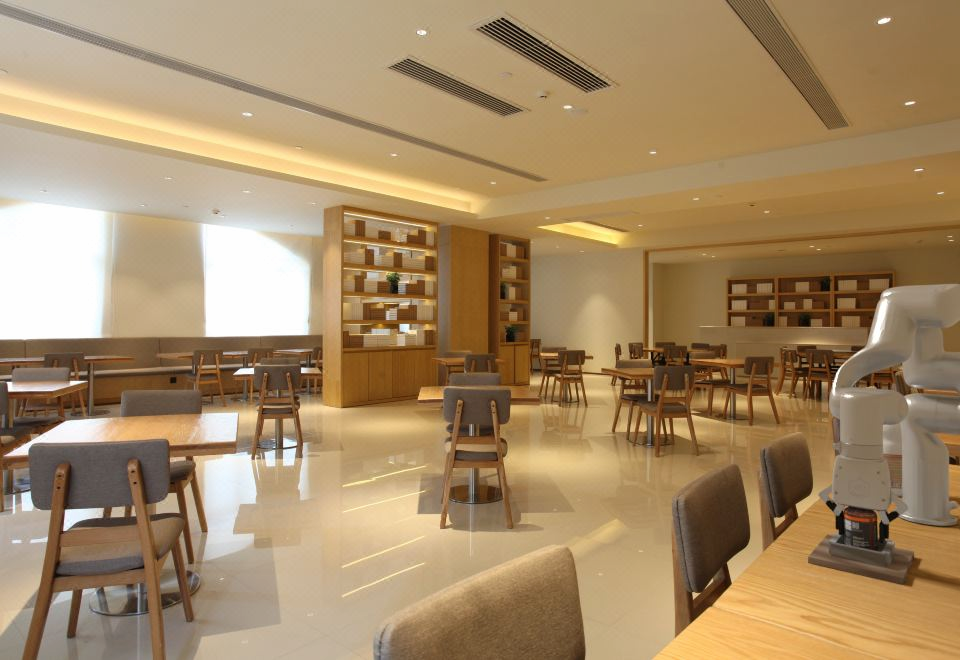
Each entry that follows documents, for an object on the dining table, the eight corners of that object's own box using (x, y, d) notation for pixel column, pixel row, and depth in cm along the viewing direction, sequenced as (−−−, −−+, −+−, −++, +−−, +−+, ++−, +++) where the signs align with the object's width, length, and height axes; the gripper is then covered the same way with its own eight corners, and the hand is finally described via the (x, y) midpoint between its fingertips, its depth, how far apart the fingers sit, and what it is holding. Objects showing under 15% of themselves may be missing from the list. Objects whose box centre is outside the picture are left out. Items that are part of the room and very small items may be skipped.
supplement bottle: (873, 550, 125) (872, 496, 125) (882, 560, 119) (881, 504, 119) (841, 547, 127) (840, 494, 127) (848, 557, 121) (847, 501, 121)
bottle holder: (827, 539, 135) (827, 523, 135) (914, 557, 124) (913, 539, 124) (808, 562, 121) (808, 544, 121) (903, 584, 111) (903, 564, 111)
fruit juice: (891, 498, 169) (890, 399, 169) (863, 489, 178) (862, 396, 178) (918, 496, 171) (917, 399, 171) (889, 487, 180) (888, 395, 180)
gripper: (810, 448, 126) (810, 532, 126) (910, 460, 115) (911, 552, 114) (818, 443, 132) (818, 524, 132) (914, 454, 120) (915, 542, 120)
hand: (861, 536), depth 123 cm, fingers open, 6 cm apart
